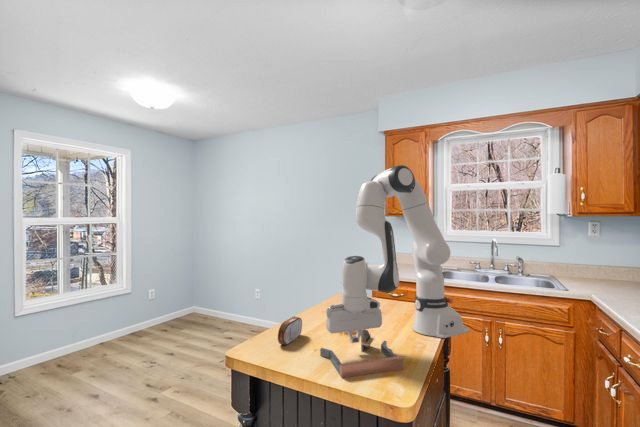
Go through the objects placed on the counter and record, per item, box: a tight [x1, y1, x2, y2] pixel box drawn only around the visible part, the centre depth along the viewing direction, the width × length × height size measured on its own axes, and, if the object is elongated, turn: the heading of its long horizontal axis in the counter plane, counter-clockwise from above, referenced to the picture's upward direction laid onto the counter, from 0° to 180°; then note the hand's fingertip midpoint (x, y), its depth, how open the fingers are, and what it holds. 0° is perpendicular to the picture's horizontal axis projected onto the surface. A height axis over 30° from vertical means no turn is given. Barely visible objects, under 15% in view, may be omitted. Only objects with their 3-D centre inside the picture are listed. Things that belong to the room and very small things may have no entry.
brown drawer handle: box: [319, 340, 404, 379], centre depth 108 cm, size 25×17×4 cm
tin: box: [277, 315, 303, 346], centre depth 126 cm, size 15×3×8 cm, turn 155°
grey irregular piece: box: [360, 329, 375, 352], centre depth 117 cm, size 3×7×7 cm, turn 157°
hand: (354, 342), depth 114 cm, fingers closed
